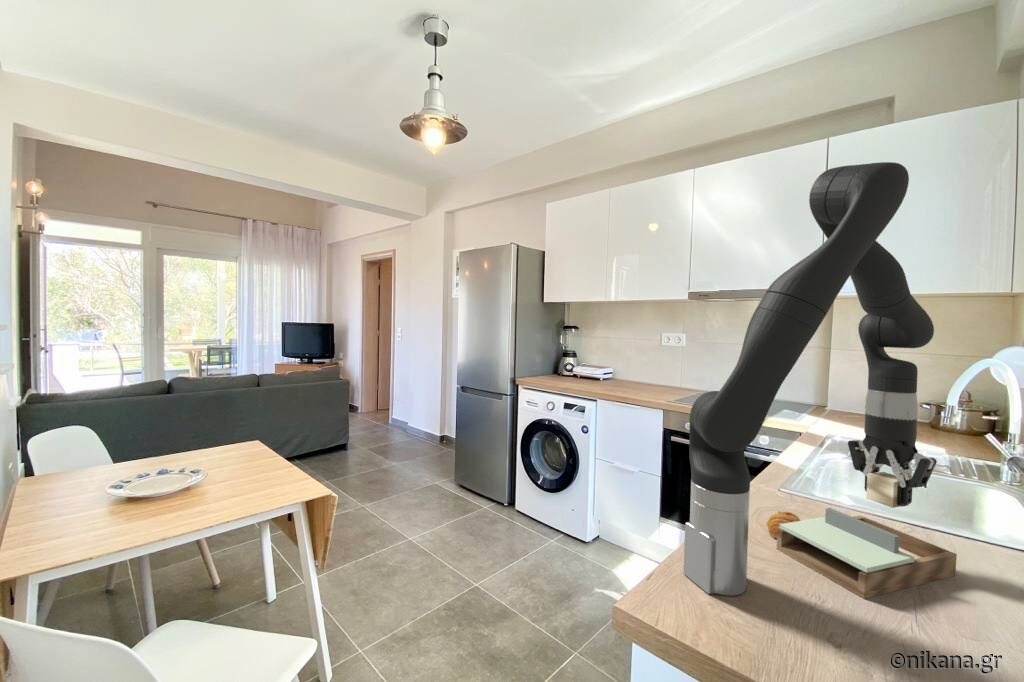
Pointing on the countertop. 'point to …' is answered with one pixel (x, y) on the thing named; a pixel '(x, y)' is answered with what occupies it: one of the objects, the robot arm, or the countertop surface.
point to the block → (882, 488)
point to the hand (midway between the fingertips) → (886, 499)
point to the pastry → (780, 521)
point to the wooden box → (924, 569)
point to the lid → (851, 540)
